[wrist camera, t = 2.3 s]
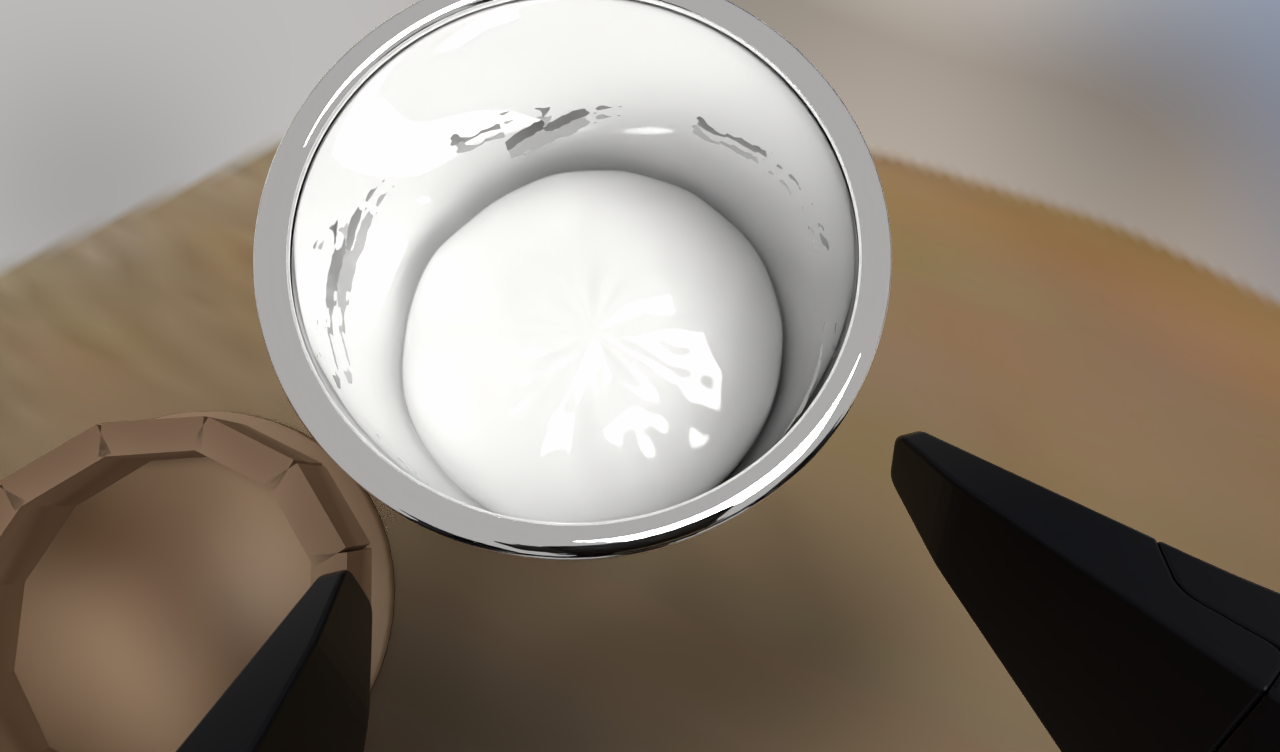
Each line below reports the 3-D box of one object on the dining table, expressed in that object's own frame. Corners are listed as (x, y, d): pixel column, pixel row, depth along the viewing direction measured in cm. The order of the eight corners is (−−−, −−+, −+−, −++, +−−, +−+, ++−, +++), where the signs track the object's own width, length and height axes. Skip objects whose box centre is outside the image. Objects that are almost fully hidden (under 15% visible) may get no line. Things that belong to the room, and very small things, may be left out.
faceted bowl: (254, 910, 18) (199, 973, 15) (-104, 713, 18) (-210, 744, 16) (465, 514, 20) (444, 515, 18) (143, 353, 21) (82, 333, 18)
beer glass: (463, 400, 21) (97, 157, 6) (626, 286, 22) (645, -154, 7) (583, 569, 20) (486, 759, 5) (747, 441, 21) (1054, 297, 6)
